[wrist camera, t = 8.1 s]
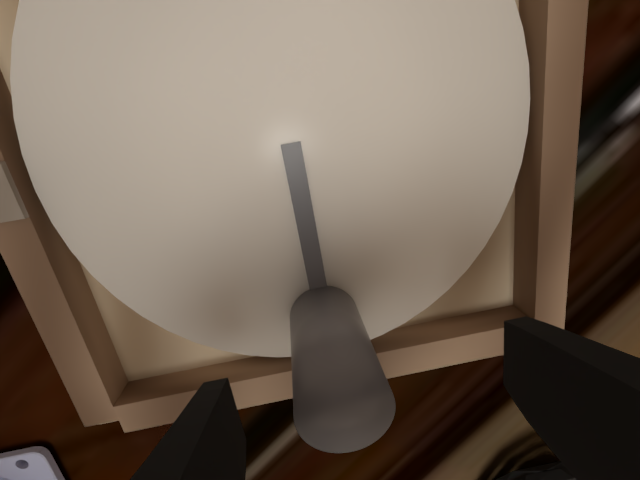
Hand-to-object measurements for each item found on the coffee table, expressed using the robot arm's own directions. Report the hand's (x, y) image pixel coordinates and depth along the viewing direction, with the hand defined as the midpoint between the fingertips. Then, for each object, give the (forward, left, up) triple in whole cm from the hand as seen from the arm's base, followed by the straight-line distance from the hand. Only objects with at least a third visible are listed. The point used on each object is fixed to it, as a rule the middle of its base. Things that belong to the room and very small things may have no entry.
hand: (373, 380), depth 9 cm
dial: (-1, +6, -5) cm, 8 cm away
